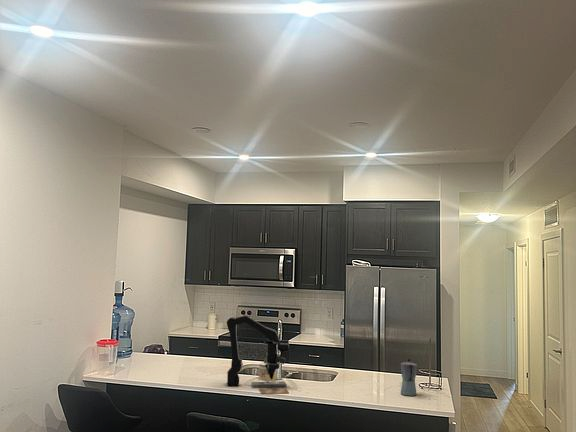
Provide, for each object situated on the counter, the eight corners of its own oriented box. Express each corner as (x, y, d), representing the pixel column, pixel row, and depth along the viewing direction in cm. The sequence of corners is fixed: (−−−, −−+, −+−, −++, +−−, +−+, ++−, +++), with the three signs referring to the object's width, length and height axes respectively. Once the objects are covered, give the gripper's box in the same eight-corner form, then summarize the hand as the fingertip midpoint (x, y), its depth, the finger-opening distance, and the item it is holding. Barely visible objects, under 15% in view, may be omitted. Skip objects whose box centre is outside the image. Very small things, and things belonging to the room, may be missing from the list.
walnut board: (261, 393, 300) (261, 393, 300) (258, 389, 310) (258, 388, 310) (289, 393, 303) (289, 392, 303) (285, 389, 313) (285, 388, 313)
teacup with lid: (256, 378, 337) (257, 360, 338) (262, 376, 345) (263, 357, 346) (273, 381, 332) (274, 362, 333) (279, 378, 341) (280, 359, 342)
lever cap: (266, 380, 315) (266, 374, 316) (265, 378, 320) (265, 372, 320) (276, 380, 317) (276, 374, 317) (275, 378, 321) (275, 372, 321)
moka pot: (413, 391, 317) (414, 357, 319) (420, 398, 302) (421, 362, 303) (397, 391, 317) (398, 356, 318) (404, 398, 301) (404, 361, 303)
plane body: (252, 388, 312) (253, 379, 313) (251, 385, 319) (251, 376, 320) (286, 387, 316) (286, 379, 317) (284, 385, 323) (284, 376, 323)
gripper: (288, 354, 312) (287, 381, 311) (282, 348, 330) (281, 374, 329) (269, 354, 310) (268, 381, 309) (264, 348, 328) (263, 374, 327)
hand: (270, 378), depth 318 cm, fingers closed on lever cap, 5 cm apart
